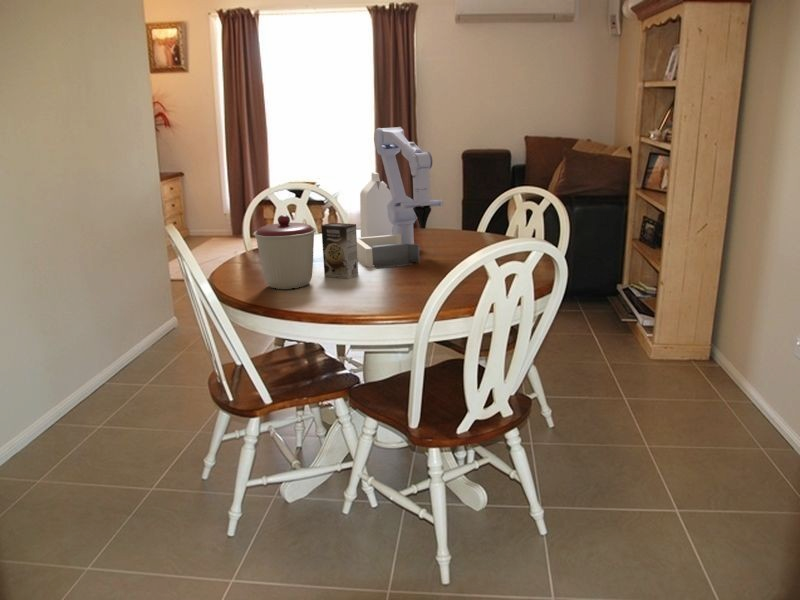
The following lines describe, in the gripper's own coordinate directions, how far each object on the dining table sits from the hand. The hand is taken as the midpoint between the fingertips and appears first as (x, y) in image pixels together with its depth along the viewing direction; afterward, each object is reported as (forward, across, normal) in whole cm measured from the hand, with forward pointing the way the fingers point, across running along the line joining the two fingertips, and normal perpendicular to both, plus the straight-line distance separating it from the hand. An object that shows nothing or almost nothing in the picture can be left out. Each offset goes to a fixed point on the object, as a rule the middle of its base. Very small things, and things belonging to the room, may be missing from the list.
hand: (422, 228), depth 245 cm
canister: (+9, -50, -25) cm, 56 cm away
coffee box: (+9, -33, -19) cm, 39 cm away
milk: (+10, -8, +34) cm, 36 cm away
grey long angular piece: (+9, -13, -12) cm, 20 cm away
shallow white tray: (+9, -15, 0) cm, 17 cm away
